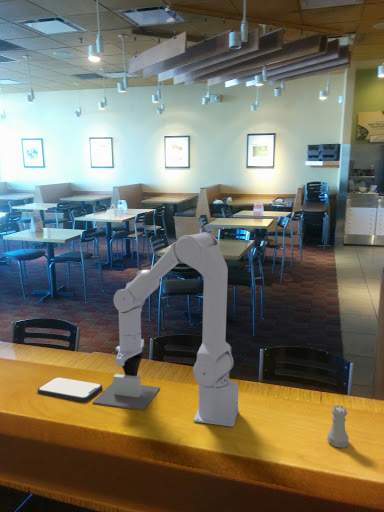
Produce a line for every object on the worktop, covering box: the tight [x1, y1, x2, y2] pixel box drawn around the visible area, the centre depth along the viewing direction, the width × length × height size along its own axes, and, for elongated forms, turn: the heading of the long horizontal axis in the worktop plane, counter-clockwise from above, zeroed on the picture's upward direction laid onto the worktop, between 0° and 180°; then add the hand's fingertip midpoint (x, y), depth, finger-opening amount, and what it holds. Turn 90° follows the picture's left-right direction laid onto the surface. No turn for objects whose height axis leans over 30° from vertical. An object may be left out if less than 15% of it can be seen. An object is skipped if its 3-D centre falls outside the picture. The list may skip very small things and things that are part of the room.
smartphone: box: [37, 376, 103, 403], centre depth 112 cm, size 9×2×16 cm
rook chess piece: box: [326, 404, 350, 449], centre depth 88 cm, size 4×4×8 cm
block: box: [112, 373, 142, 397], centre depth 109 cm, size 7×2×5 cm, turn 75°
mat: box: [92, 381, 161, 412], centre depth 109 cm, size 14×12×1 cm
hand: (131, 380), depth 111 cm, fingers closed
